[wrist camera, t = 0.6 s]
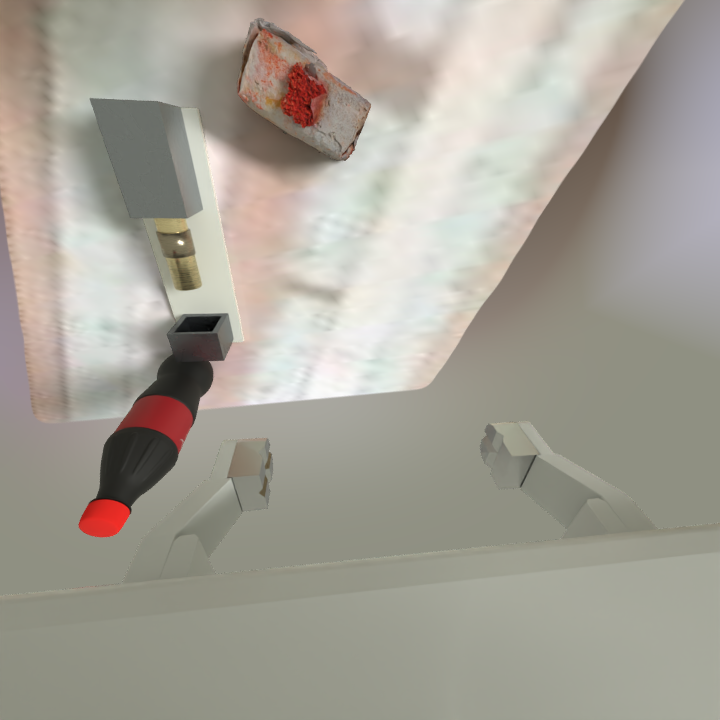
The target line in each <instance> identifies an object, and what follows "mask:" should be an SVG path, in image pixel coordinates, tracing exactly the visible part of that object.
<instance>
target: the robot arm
mask: <svg viewBox="0 0 720 720" xmlns="http://www.w3.org/2000/svg"><path fill="white" fill-rule="evenodd" d="M485 433H486V434H487V435H486V436H485V437H484V438H483V439H482V441H481V445H480V450H481V456H482V459H483V461H484V463H485V464H486V465H487V466H489V467H490V468H491V473H490V474H491V476H492V478H493V480H494V482H495V484H496V485H497V488H498V489H514V488H521V490H522V491H523V492H524V493H525V494H526V495H528V496H529V497H530V498H531V499H532V500H534V501H535V502H536V503H537V504H538V505H539V506H540V507H542V508H543V509H544V510H545V511H547V513H549V514H550V515H551V516H552V517H553V518H554V519H556V520H557V521H558V522H559V523H560V524H561V525H563V526H564V527H565V528H566V529H567V530H566V531H565V533H564V534H563V536H562V537H561V539H555V540H545V541H535V542H526V543H516V544H506V545H496V546H486V547H476V548H466V549H456V550H446V551H436V552H427V553H417V554H408V555H397V556H388V557H378V558H369V559H358V560H349V561H340V562H329V563H319V564H309V565H300V566H290V567H280V568H270V569H260V570H251V571H240V572H231V573H221V574H216V573H215V571H214V569H213V567H212V565H211V563H210V561H209V559H208V558H209V557H210V556H211V554H212V553H213V552H214V550H215V549H216V547H217V546H218V545H219V544H220V542H221V541H222V539H223V538H224V537H225V536H226V534H227V533H228V532H229V530H230V529H231V527H232V526H233V525H234V524H235V522H236V521H237V520H238V518H239V517H240V516H241V514H242V512H243V511H251V510H261V509H267V508H268V502H269V495H270V488H269V483H270V481H271V480H272V474H273V459H272V454H271V453H270V452H269V448H270V443H269V439H268V438H255V439H237V440H224V441H223V442H222V444H221V446H220V449H219V452H218V455H217V458H216V461H215V464H214V467H213V470H212V473H211V476H210V479H209V480H204V481H203V482H202V483H201V484H200V485H199V486H198V487H197V488H196V489H195V490H193V491H192V492H191V493H190V494H189V495H188V496H187V497H186V498H185V499H184V500H183V501H182V502H181V503H179V504H178V505H177V506H176V507H175V508H174V509H173V510H172V511H171V512H170V513H169V514H167V515H166V516H165V517H164V518H163V519H162V520H161V521H160V522H159V523H158V524H157V525H156V526H155V527H153V528H152V529H151V530H150V531H149V532H148V533H147V534H146V535H145V536H144V537H143V538H142V540H141V542H140V544H139V546H138V549H137V551H136V553H135V555H134V557H133V560H132V562H131V564H130V566H129V568H128V570H127V573H126V575H125V577H124V579H123V581H122V583H121V584H112V585H102V586H91V587H82V588H72V589H62V590H52V591H42V592H32V593H22V594H12V595H1V596H0V720H720V523H712V524H702V525H692V526H682V527H673V528H663V529H658V528H657V527H656V526H655V525H654V524H653V523H652V522H651V520H650V519H649V518H648V517H647V516H646V515H645V514H644V512H643V511H642V510H641V509H640V508H639V507H638V506H637V505H636V503H635V502H634V501H633V500H632V499H631V498H630V497H629V495H627V494H626V493H624V492H622V491H621V490H619V489H617V488H616V487H614V486H612V485H610V484H609V483H607V482H605V481H604V480H602V479H600V478H598V477H597V476H595V475H593V474H592V473H590V472H588V471H587V470H585V469H583V468H581V467H580V466H578V465H576V464H575V463H573V462H571V461H569V460H568V459H566V458H564V457H563V456H561V455H559V454H554V453H553V452H552V450H551V449H550V448H549V447H548V445H547V444H546V443H545V441H544V440H543V439H542V437H541V436H540V435H539V433H538V432H537V431H536V430H535V428H534V427H533V426H532V424H531V423H530V422H528V421H520V422H506V423H491V424H488V425H487V426H486V428H485Z"/></svg>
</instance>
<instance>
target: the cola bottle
mask: <svg viewBox="0 0 720 720" xmlns="http://www.w3.org/2000/svg"><path fill="white" fill-rule="evenodd" d="M212 381H213V369H212V366H211V364H210V362H209V361H193V362H176V359H175V357H174V354H173V355H171V356H170V357H168V358H167V359H166V360H165V361H164V362H163V363H162V364H161V366H160V368H159V370H158V374H157V380H156V381H155V382H154V383H153V384H152V385H151V386H150V387H149V388H148V389H147V390H145V391H144V392H143V393H142V394H141V395H140V396H139V397H138V398H137V400H136V401H135V402H134V404H133V407H132V408H131V410H130V411H129V412H128V414H127V415H126V417H125V418H124V419H123V421H122V422H121V424H120V425H119V426H118V428H117V429H116V431H115V432H114V433H113V434H112V435H111V436H110V437H109V438H108V440H107V441H106V443H105V445H104V449H103V455H102V460H101V470H100V488H99V491H98V494H97V497H96V499H93V500H92V501H91V502H90V503H89V504H88V506H87V508H86V510H85V511H84V513H83V515H82V517H81V519H80V522H79V528H80V529H81V530H82V531H83V532H84V533H86V534H88V535H91V536H95V537H110V536H113V535H115V534H117V533H118V532H119V531H120V529H121V528H122V527H123V525H124V523H125V522H126V520H127V518H128V517H129V515H130V514H131V506H132V504H133V503H134V502H135V501H136V499H137V498H138V497H140V496H141V495H142V494H144V493H145V492H147V490H149V489H150V488H152V487H153V486H154V485H155V484H156V483H157V482H158V481H159V480H161V479H162V478H163V477H164V476H165V475H166V473H168V472H169V471H170V470H171V469H172V468H173V466H174V465H175V463H176V461H177V458H178V454H179V452H180V450H181V448H182V445H183V443H184V441H185V439H186V437H187V434H188V432H189V430H190V428H191V427H192V425H193V424H194V421H195V418H196V414H197V410H198V405H199V401H200V397H202V396H203V395H204V394H205V393H206V392H207V391H208V390H209V388H210V387H211V384H212Z"/></svg>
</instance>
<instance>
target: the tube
mask: <svg viewBox="0 0 720 720" xmlns="http://www.w3.org/2000/svg"><path fill="white" fill-rule="evenodd" d="M153 219H154V222H155V225H156V228H157V231H156V234H157V238H158V241H159V244H160V247H161V251H162V254H163V256H164V257H165V258H166V261H167V265H168V268H169V271H170V274H171V278H172V281H173V284H174V288H175V289H176V290H180V291H188V290H194V289H197V288H200V287H201V286H202V281H201V277H200V273H199V269H198V265H197V261H196V257H195V254H196V251H195V247H194V243H193V239H192V235H191V231H190V229H189V228H188V226H187V222H186V219H181V218H153Z"/></svg>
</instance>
